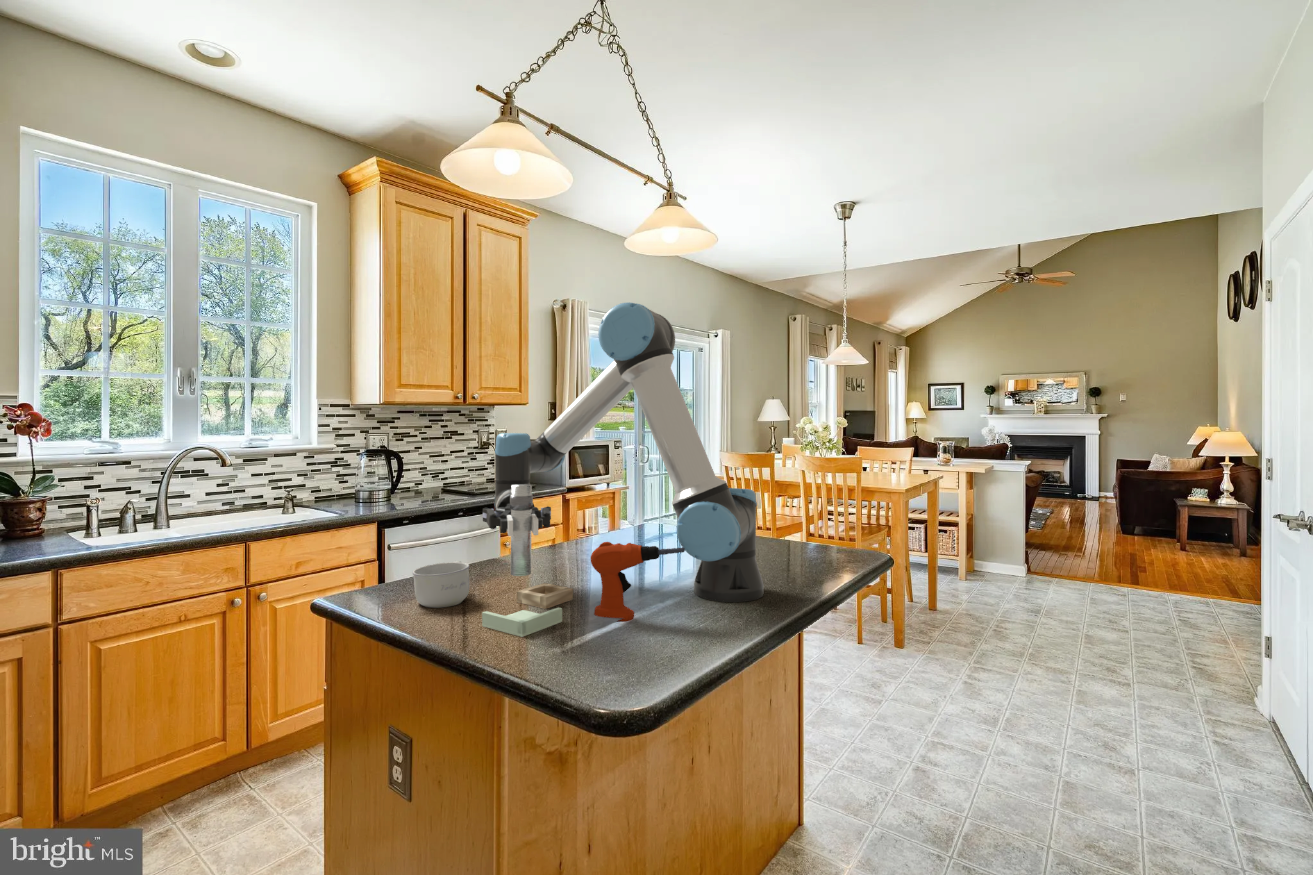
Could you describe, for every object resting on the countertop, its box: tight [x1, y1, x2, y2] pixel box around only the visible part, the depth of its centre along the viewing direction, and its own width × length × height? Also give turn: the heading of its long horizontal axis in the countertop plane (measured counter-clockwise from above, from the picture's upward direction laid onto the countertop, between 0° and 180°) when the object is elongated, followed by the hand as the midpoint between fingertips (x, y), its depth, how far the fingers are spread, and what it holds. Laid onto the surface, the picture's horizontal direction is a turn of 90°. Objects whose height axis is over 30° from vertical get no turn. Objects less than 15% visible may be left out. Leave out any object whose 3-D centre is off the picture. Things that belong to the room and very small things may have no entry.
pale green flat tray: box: [481, 607, 563, 638], centre depth 112 cm, size 10×10×3 cm
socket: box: [516, 582, 574, 610], centre depth 127 cm, size 8×8×3 cm
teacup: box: [412, 560, 470, 609], centre depth 127 cm, size 14×11×8 cm
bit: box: [510, 483, 534, 577], centre depth 112 cm, size 4×4×16 cm
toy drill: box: [590, 541, 686, 623], centre depth 117 cm, size 5×19×15 cm, turn 82°
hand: (523, 527), depth 107 cm, fingers closed on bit, 3 cm apart
